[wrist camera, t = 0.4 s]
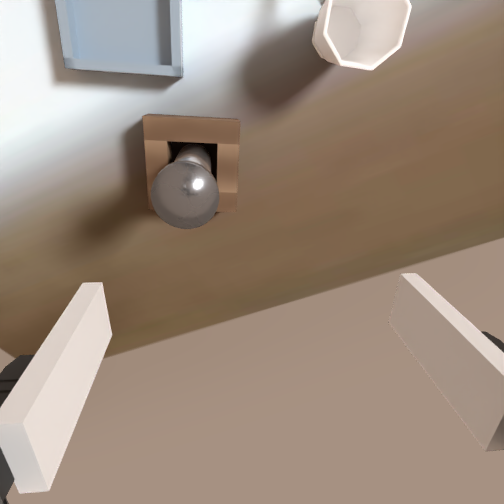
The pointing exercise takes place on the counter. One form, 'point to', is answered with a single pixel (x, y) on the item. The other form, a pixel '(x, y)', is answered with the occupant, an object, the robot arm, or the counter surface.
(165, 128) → the socket block
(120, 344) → the counter surface
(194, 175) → the pin
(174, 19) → the tray
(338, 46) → the cup
